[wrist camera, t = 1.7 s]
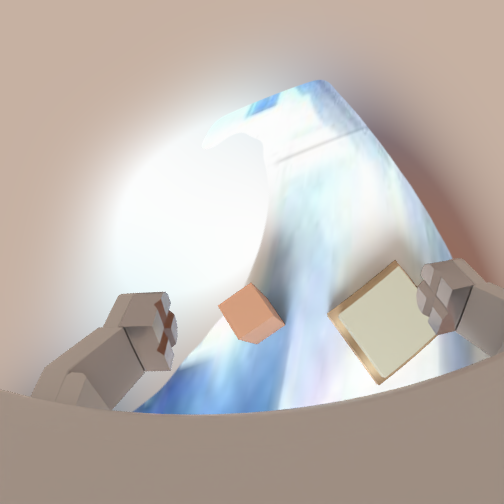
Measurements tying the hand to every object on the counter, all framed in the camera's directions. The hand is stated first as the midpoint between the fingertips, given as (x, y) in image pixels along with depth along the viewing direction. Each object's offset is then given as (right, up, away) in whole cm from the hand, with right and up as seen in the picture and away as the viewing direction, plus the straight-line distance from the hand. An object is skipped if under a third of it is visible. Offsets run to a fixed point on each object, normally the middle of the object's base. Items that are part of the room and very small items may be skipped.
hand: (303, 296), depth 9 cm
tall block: (0, -8, +31) cm, 32 cm away
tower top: (+15, -7, +24) cm, 29 cm away
